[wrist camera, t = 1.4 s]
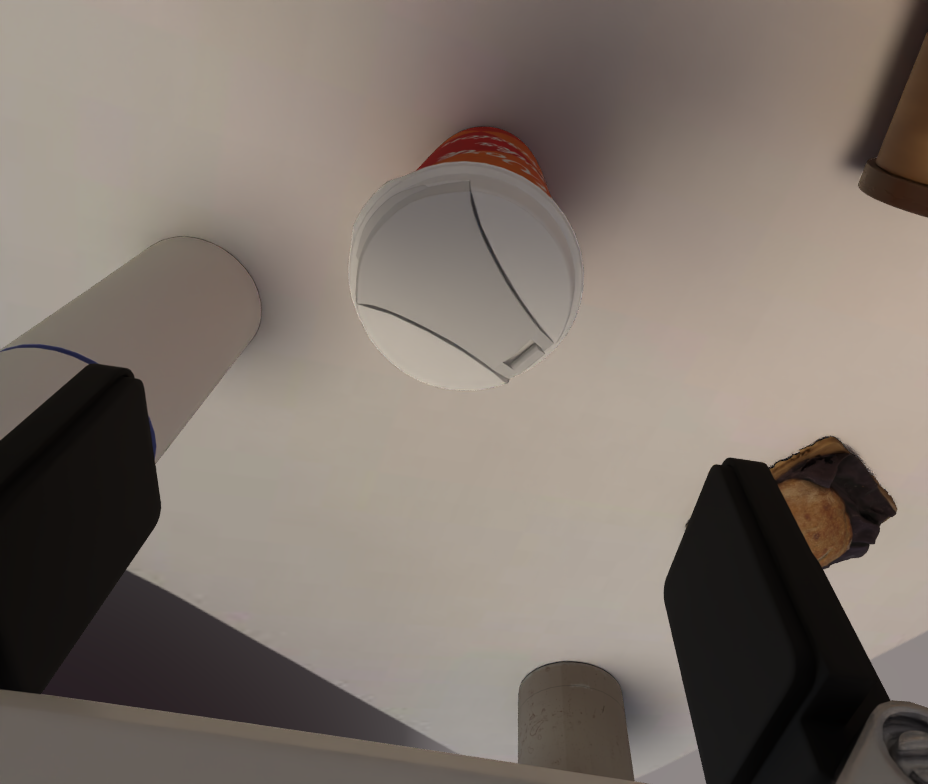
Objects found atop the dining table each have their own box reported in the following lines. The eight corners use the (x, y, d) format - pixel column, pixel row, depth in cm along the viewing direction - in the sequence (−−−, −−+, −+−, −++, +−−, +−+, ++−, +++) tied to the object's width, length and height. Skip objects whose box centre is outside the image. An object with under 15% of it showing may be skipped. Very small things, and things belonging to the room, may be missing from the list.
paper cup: (596, 187, 32) (639, 303, 20) (482, 290, 36) (462, 443, 24) (483, 60, 30) (456, 106, 18) (371, 182, 33) (285, 291, 21)
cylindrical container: (276, 271, 36) (-86, 686, 14) (243, 375, 39) (-88, 832, 18) (145, 214, 35) (-456, 571, 13) (123, 326, 38) (-381, 751, 17)
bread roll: (749, 590, 45) (766, 635, 42) (674, 519, 43) (687, 561, 39) (904, 511, 41) (936, 555, 38) (831, 426, 38) (859, 466, 35)
